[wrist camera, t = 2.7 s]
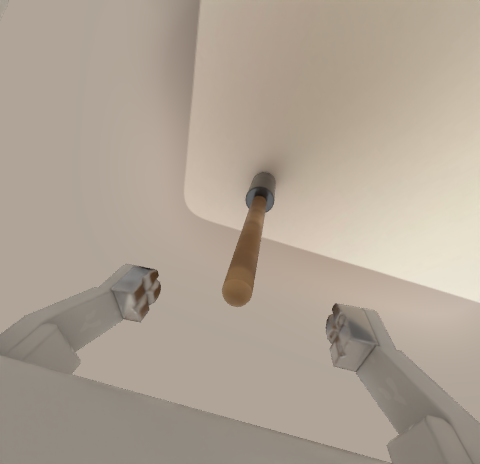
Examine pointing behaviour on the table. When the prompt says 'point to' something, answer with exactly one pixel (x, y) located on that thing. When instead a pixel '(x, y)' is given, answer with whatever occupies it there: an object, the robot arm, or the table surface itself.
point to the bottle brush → (249, 242)
